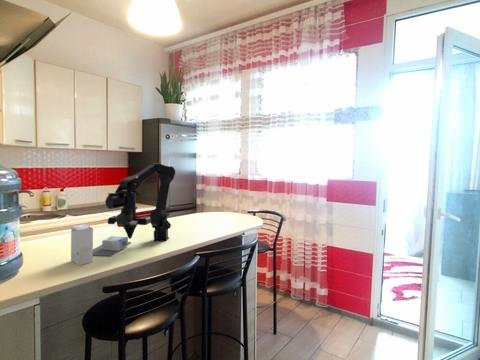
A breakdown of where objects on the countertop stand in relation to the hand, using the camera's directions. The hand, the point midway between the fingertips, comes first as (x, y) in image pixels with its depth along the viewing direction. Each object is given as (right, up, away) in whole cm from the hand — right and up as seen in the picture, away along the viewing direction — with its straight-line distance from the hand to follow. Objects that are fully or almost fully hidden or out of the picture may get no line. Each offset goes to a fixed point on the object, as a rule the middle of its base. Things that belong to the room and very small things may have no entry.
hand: (130, 238), depth 134 cm
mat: (-10, -5, +1) cm, 12 cm away
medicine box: (-3, -3, 0) cm, 4 cm away
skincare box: (-14, -7, -16) cm, 22 cm away
